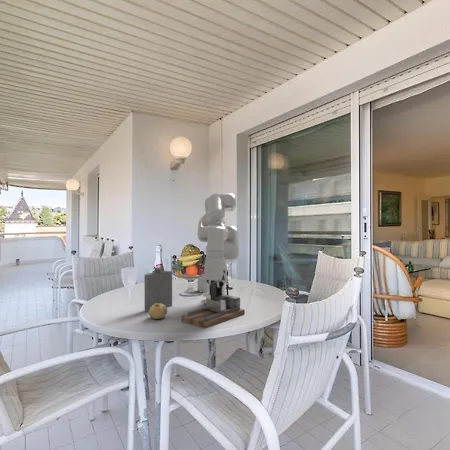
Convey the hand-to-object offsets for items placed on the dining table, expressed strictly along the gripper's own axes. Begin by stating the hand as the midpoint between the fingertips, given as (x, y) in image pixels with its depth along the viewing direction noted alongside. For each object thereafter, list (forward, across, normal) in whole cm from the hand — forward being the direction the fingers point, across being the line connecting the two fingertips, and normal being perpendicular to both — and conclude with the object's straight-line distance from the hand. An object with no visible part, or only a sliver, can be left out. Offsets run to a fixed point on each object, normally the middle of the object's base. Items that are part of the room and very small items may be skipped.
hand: (215, 295), depth 143 cm
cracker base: (+10, 0, -1) cm, 10 cm away
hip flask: (+10, -31, -8) cm, 34 cm away
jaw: (+7, 0, 0) cm, 7 cm away
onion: (+10, -18, -18) cm, 27 cm away
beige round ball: (+6, 0, +4) cm, 7 cm away
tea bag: (+10, -42, +34) cm, 55 cm away
